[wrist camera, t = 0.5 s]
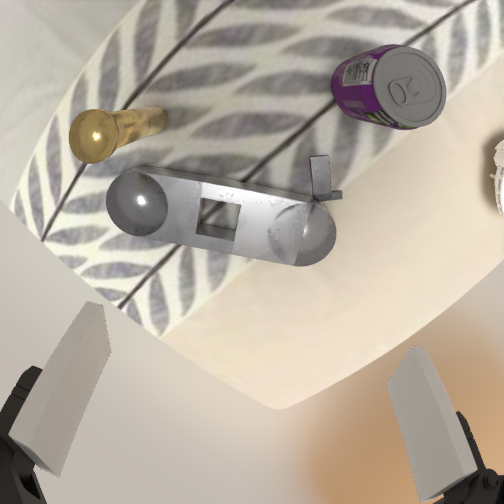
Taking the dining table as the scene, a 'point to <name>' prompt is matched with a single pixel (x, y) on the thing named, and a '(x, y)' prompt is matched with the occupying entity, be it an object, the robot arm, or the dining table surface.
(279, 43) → the dining table surface
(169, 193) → the slotted metal plate
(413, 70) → the beverage can
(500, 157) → the mechanical part
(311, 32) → the dining table surface
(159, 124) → the pin
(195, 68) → the dining table surface
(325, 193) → the dark grey l-shaped bracket
